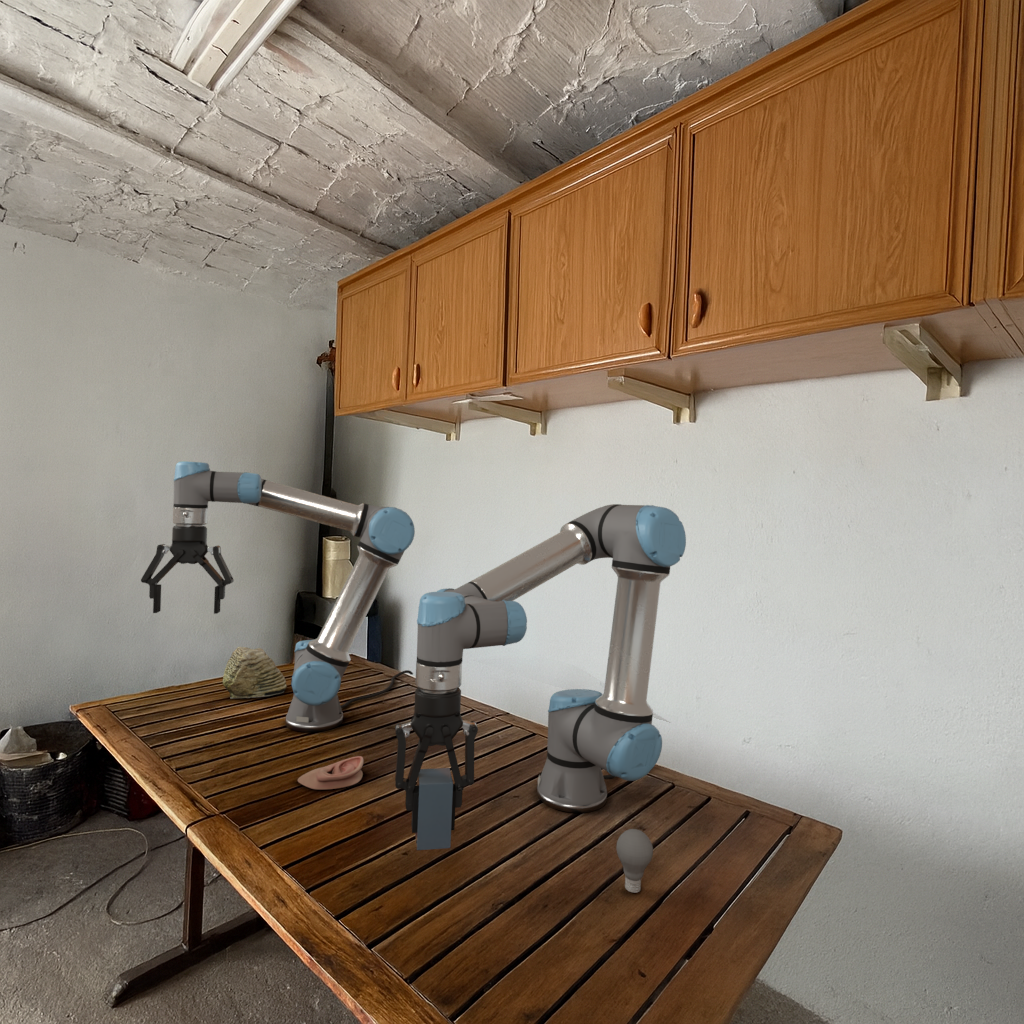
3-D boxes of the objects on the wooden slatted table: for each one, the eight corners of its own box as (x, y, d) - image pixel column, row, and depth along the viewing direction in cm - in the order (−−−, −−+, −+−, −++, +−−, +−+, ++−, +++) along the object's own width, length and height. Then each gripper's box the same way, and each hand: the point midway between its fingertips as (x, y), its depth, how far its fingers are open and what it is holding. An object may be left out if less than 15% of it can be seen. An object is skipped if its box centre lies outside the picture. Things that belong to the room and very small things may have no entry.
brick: (415, 831, 107) (417, 769, 106) (446, 829, 108) (449, 767, 107) (416, 850, 101) (419, 784, 101) (450, 848, 102) (453, 782, 102)
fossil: (218, 695, 195) (220, 647, 195) (278, 685, 208) (279, 640, 207) (228, 703, 189) (230, 653, 188) (289, 692, 201) (290, 645, 201)
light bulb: (610, 879, 108) (613, 822, 108) (644, 879, 109) (647, 822, 109) (619, 902, 102) (622, 840, 102) (655, 901, 103) (658, 840, 103)
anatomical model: (290, 768, 137) (317, 748, 149) (290, 786, 138) (316, 764, 149) (347, 776, 135) (370, 755, 146) (346, 794, 135) (369, 772, 146)
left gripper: (127, 524, 148) (124, 614, 148) (241, 527, 152) (237, 615, 153) (139, 522, 155) (137, 609, 155) (247, 526, 160) (244, 610, 160)
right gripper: (381, 695, 98) (375, 843, 99) (497, 693, 102) (491, 835, 102) (381, 681, 106) (375, 819, 106) (489, 679, 109) (484, 812, 110)
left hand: (187, 612), depth 154 cm, fingers open, 13 cm apart
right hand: (432, 827), depth 104 cm, fingers closed on brick, 5 cm apart
